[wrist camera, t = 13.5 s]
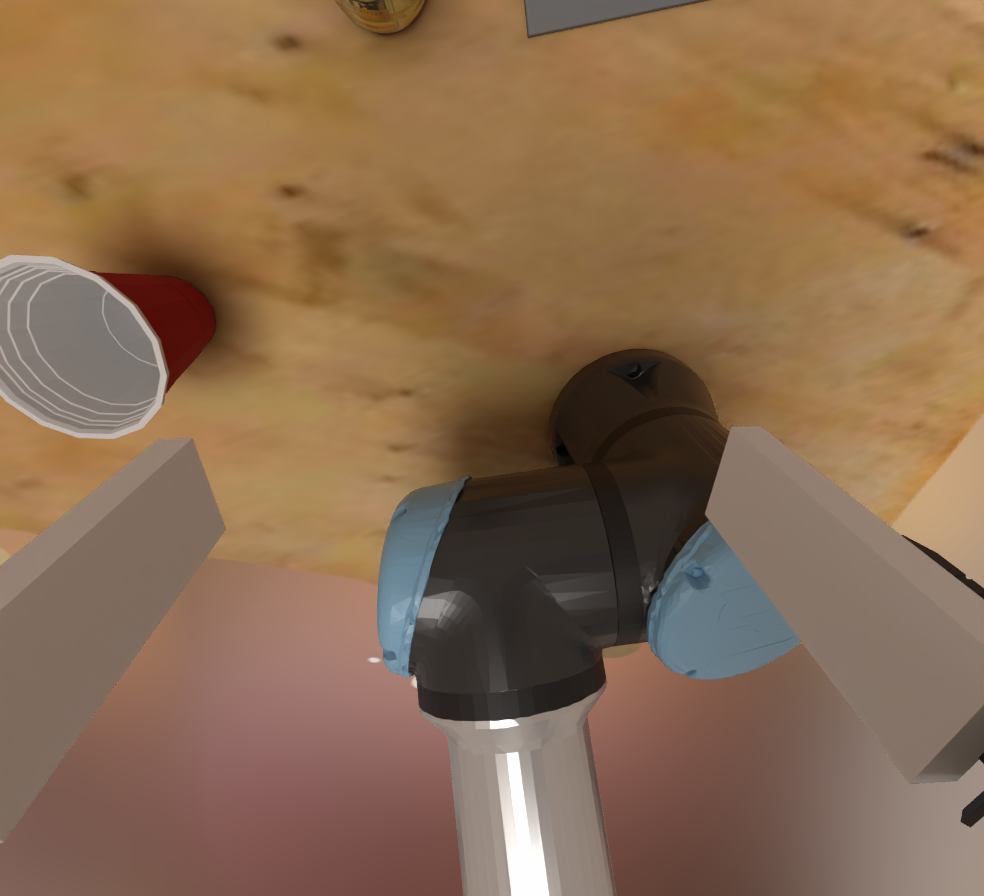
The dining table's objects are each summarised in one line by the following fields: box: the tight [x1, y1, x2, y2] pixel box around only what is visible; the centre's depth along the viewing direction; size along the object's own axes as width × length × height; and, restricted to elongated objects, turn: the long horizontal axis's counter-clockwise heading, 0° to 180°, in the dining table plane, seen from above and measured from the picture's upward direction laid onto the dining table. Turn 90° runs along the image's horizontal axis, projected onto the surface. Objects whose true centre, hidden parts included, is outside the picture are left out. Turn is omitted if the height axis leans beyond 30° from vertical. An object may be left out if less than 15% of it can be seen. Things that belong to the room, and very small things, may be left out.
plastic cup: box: [0, 255, 216, 439], centre depth 31 cm, size 11×11×12 cm
